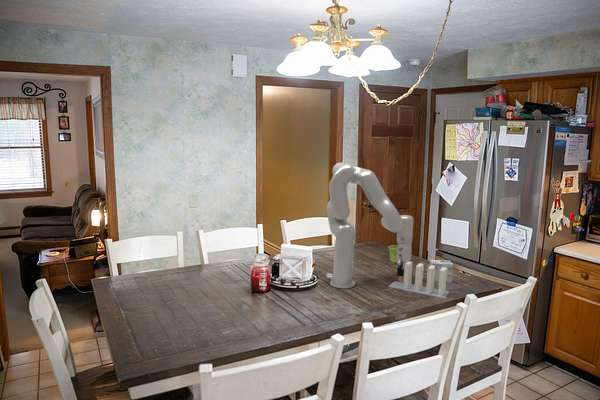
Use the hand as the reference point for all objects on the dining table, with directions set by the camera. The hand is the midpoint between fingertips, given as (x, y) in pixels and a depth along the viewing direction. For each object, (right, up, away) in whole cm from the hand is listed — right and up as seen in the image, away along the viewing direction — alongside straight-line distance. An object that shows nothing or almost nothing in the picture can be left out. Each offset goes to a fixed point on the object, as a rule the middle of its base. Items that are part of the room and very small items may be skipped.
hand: (402, 273), depth 229 cm
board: (+5, -6, -13) cm, 15 cm away
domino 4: (+10, -6, -15) cm, 19 cm away
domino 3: (+5, -5, -13) cm, 15 cm away
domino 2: (0, -5, -10) cm, 11 cm away
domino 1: (0, -4, +1) cm, 4 cm away
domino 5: (+14, -6, -18) cm, 24 cm away
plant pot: (+4, +1, +36) cm, 36 cm away
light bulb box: (+20, -5, +2) cm, 20 cm away
